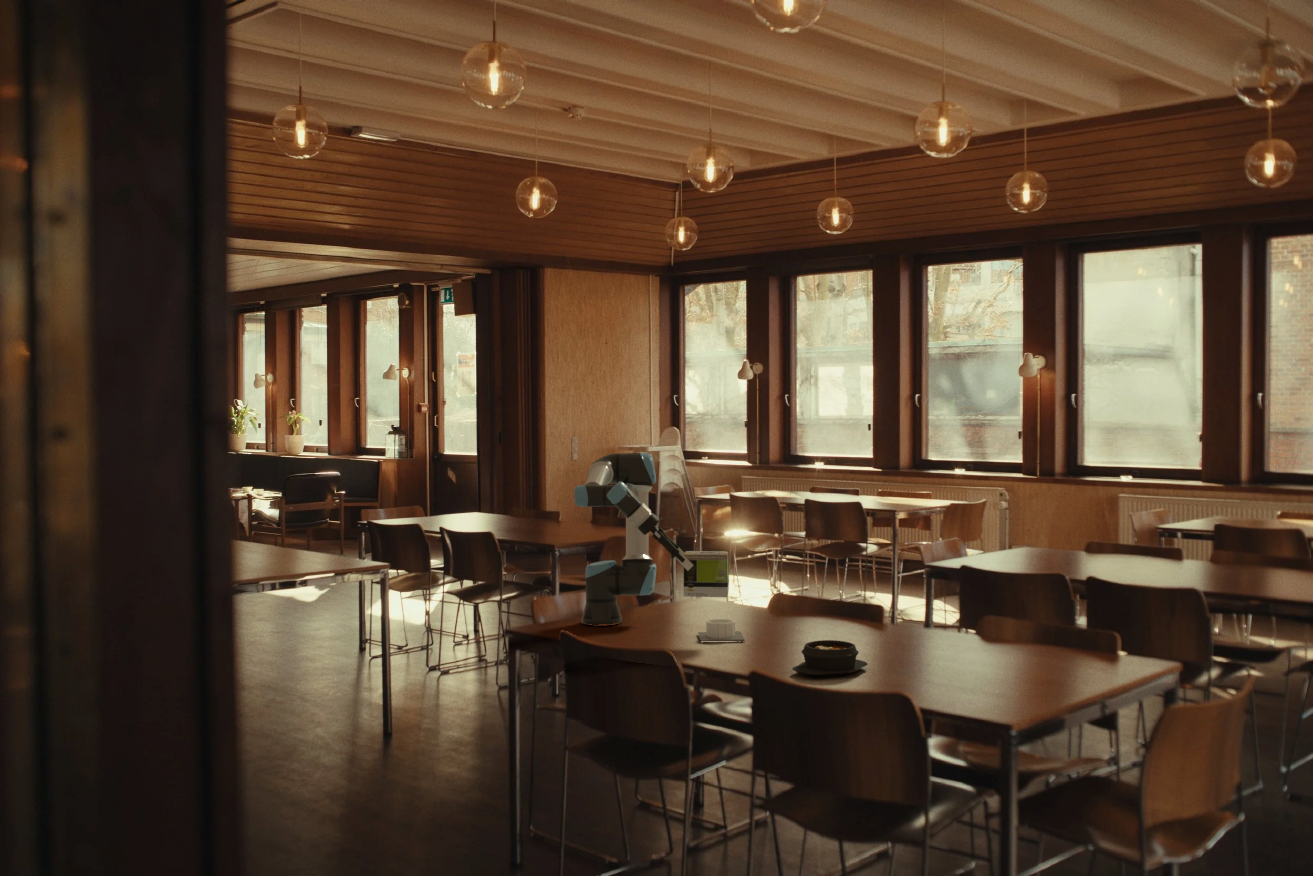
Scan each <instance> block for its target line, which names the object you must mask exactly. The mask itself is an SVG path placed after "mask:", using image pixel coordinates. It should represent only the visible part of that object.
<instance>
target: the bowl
mask: <svg viewBox="0 0 1313 876" xmlns="http://www.w3.org/2000/svg"><path fill="white" fill-rule="evenodd" d="M705 627H706V628H705V629H706V631H698V632H697V635H698V634H699V637H698V639H699V638H700V640H701V641H745V638H744V636H743V633H742V632H741V630H740V631H739V630H738V631H737V630H736V621H735V620H734V619H730V618H729V619H728V618H714V619H708V620H706V622H705ZM700 640H699V641H700Z"/></svg>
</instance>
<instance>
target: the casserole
mask: <svg viewBox="0 0 1313 876" xmlns="http://www.w3.org/2000/svg"><path fill="white" fill-rule="evenodd" d="M859 652H860V651H858V650H857V647H856V645H855V643H852V642H849V641H844V640H835V639H834V640H831V639H830V640H829V639H827V640H823V639H822V640H814V641H810V642H806V643H805V644H804V646H803V649H802V650H801V654H802V655H803V658H804V661H803V662H801V663H800V664H798V665H795V666H793V667H792V669H791V670H793V671H794V672H796V673H800V674H804V675H809V676H810V675H811V676H820V675H826V676H825V677H840V676H839V675H842V676H846V675H849V674H851V673H854V672H857V671H860V670H861V669H862V668H864V667H866V666H868V665H869V663H868V662H866V661H864V660H861V659H857V656H858V655H859Z"/></svg>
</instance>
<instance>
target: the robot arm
mask: <svg viewBox="0 0 1313 876" xmlns="http://www.w3.org/2000/svg"><path fill="white" fill-rule="evenodd" d="M656 483H657V475H656V468H655V463H654V457H653V455H652V454H650V453H647V452H646V453H645V452H631V453H629V452H626V453H625V452H624V453H616V452H615V453H609V454H606V455H603V456H602V457H599V458H598V459H596V460H595V461H593V462H592V463H591V465H590V466H589V469H588V477H587V479H586V481H585V484H582V485H576V486H575V488H574V503H575V505H576V506H577V507H582V508H587V507H589V508H591V507H593V508H594V507H597V508H598V507H616V508H617V510H619V511H620V512H621V514H623V515H624V516H625V556H624V557H623V558H622V559H621V564H619V563H618V564H617V561H616V560H613V559H611V560H601V561H596V562H593V563H589V564H588V565H587V566H586V567H585V576H584V579H585V606H584V609H583V613H582V616H581V623H582V622H583V623H586V624H592V625H599V624H613V623H619V622H621V621H622V622H623V619H622V614H621V611H620V608H619V605H618V601H617V600H618V599H617V596H639V597H641V596H651V594H653V593H654V589H655V586H656V577H657V564H656V563H653V560H654V559H653V558H652V557H651V556H650V553H649V547H650V545H649V533H650V532H651V534H652V538H653V539H655V540H656V541H657V542H658V544H660V545H662V546H663V547H664V549H665V550H667V552H668V553H669V554H670V555H671V557H670V558H671V559H675V560H676V561H677V562H678V563H679V564H680V565H681V566H682V568H683V569H684V568H685V569H686V570H687V571H688V570H689V569H690V568H691V567H692V566H693V564H692V563H691V562H690V561H689V560H688V559H687V558H686V557H685V556H684V553H685V552H684V551H683V550H682V549H681V548H680V547H681V545H680V544H679V543H678V544H677V543H675V541H673V539H671V538H670V536H669V535H668V534H667V533H666V532H665V531H664V529H663V528H662V527H659V526H657V525H658V524H659V523H660V518H658V516H657V515H656V514H655V513H653V512H652V510H651V509H650V508H649V493H650V492H651V490H652V489H653V484H654V485H655V484H656Z"/></svg>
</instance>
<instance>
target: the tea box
mask: <svg viewBox="0 0 1313 876" xmlns="http://www.w3.org/2000/svg"><path fill="white" fill-rule="evenodd" d="M684 556H685V557H686V558H687V559H688V560H689V561H690V562H691V563H692V564H693V566H692V567H691V568H690V569H689V570H688V571H687V570H686V569H685V568H684V567H683V597H689V598H690V597H691V598H692V597H693V598H698V597H699V598H728V595H729V589H730V588H729V583H730V582H729V581H730V579H729V578H730V577H729V575H730V574H729V551H727V550H725V551H724V550H723V551H719V550H718V551H715V550H714V551H713V550H711V551H709V550H708V551H703V550H700V551H699V550H689V551H687V550H686V551H685V552H684Z"/></svg>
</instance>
